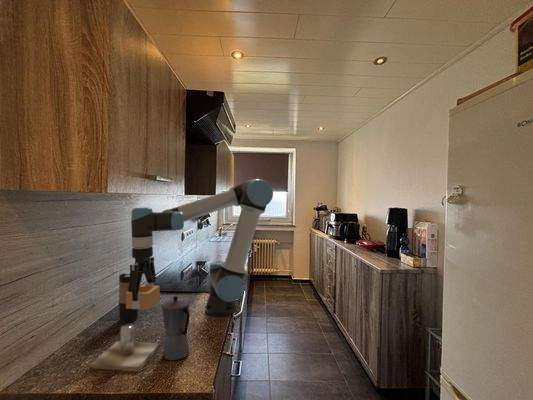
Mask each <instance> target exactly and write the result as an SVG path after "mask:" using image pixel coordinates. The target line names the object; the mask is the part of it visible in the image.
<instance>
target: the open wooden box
mask: <svg viewBox="0 0 533 400" xmlns="http://www.w3.org/2000/svg"><path fill="white" fill-rule="evenodd" d="M160 289H161V287H160V285H153V286H148V285H146V284H143V285H142V284H140V288H139V291H140V309H139V310H150V309H151V308H152V307H154V305H156V304H157V303H158V302H159V301H160V300H161V290H160ZM126 309H133V302H132V292H127V293H126Z"/></svg>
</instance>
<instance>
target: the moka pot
mask: <svg viewBox="0 0 533 400" xmlns="http://www.w3.org/2000/svg"><path fill="white" fill-rule="evenodd" d="M189 303H190V302H188V300H181V299H179V298H178V296H173V300H172V299H171V300H166V301H165V302H164V303H163V304H161V310H162V317H163V318H162V319H163V325H164V326H163V327H164V332H165V335H164V345H163V353H162V357H163V359H165V360H167V361H177V360H182V359H184V358H185V357H187V356H188V355H189V354H190V344H189V338H188V327H189V322H190V304H189Z"/></svg>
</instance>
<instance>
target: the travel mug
mask: <svg viewBox="0 0 533 400" xmlns="http://www.w3.org/2000/svg"><path fill="white" fill-rule="evenodd" d="M118 278H119V279H118V282H119V283H118V293H119V294H118V303H119V304H118V310H119V311H118V312H119V314H118V315H119V322H120V323H121V324H131V323H133V322H135V321H137V320H138V317H139V316H138V315H139V313H138V312H139V309H126V293H127V292H128V288H129V278H130V273H122V274H121V273H120V274H119V276H118Z"/></svg>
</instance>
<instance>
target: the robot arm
mask: <svg viewBox="0 0 533 400" xmlns="http://www.w3.org/2000/svg"><path fill="white" fill-rule="evenodd" d="M273 196H274V190H273V188H272V186H271V184H270V183H269V182H268V181H266V180H265V179H260V178H254V179H249V180H245V181H243V182H241V183H240V184H237V185H234V186H232V187H229V190H226V191H223V192H221V193H220V192H219V193H217V194H214V195H210V196H207V197H204V198H201V199H198V200H194V201H190V202H188V203H185V204H182V205H179V206H176V207H173V208H169V209H164V210H162V211H161V212H157V211H156V212H154V211H153V208H152V207H135V208H134V207H133V208H132V210H131V217H130V218H131V221H130V222H131V247H132V248H131V258H132V259H134V264H130V265H129V272H130V273H129V274H130V278H129V288H128V292H132V302H133V309H138V310H141V309H140V291H139V288H140V285H141V282H142V279H143V278H142V277H143V275H144V277H145V280H146V283H145V285H148V286H154V283H156V281H157V280H156V279H157V276H156V268H155V267H156V266H155V257H153V255H154V248H153V245H154V244H153V243H154V242H153V241H154V240H153V233H154V232H167V231H169V232H170V231H171V232H172V231H173V232H176V231H181V230H183V229H184V225H185V222H188V221H191V220H194V219H198V218H200V217H204V216H205V215H209V214H212V213H215V212H218V211H221V210H224V209H227V208H231V207H233V206H234V207H240V213H239V217H238V219H237V223H236V227H235V229H234V232H233V234H232V235H233V236H232V239H231V242H230V246H229V249H228V252H227V253H226V254H227V255H226V258H225V261H217V262H211V263H210V264H209V271H208V272H209V281H208V282H209V289H208V290H209V292H208V293H209V294H208V298H207V301H206V304H205V313H206V314H207V315H209V316H213V317H226V316H230V315H233V314H235V313H236V312H237V311H238V304H237V303H238V302H237V300H239V299H240V298H241V297H242V296H243V294H244V292H245V289H246V288H245V281H244V280H245V277H246V273H247V271H246V269H245V265H246V261H247V258H248V255H249V252H250V250H251V249H250V248H251V246H252V242H253V239H254V235H255V232H256V230H257V225H258V222H259V220H260V216H261V215H263V214H264V213H265V211H266V208H267V205H269V204H270V203H271V202H272V200H273Z"/></svg>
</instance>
